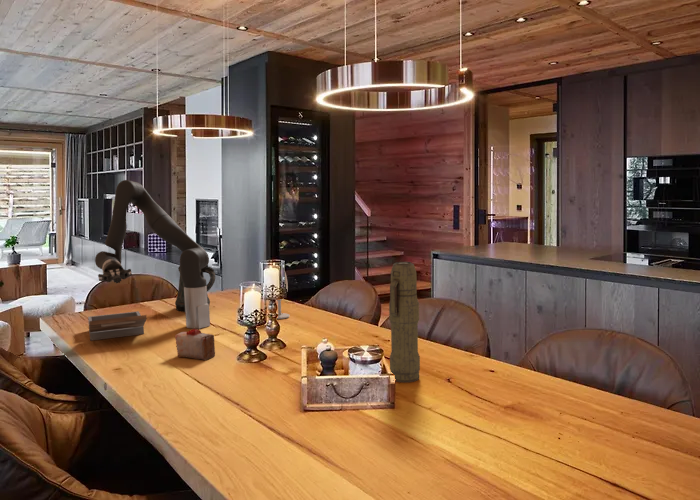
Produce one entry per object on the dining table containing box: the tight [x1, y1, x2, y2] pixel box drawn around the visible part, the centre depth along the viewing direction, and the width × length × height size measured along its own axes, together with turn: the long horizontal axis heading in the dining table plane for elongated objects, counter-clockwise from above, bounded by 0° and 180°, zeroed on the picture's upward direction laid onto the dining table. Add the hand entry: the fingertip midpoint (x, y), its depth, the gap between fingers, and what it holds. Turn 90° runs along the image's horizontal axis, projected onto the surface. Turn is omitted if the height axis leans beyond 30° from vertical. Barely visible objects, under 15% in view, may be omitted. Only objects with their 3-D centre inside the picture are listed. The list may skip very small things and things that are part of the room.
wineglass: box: [276, 272, 291, 320], centre depth 259 cm, size 9×9×21 cm
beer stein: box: [174, 264, 216, 313], centre depth 283 cm, size 16×19×25 cm
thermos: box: [388, 261, 421, 383], centre depth 173 cm, size 9×12×35 cm
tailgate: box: [88, 314, 147, 333], centre depth 225 cm, size 2×20×16 cm
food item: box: [174, 328, 216, 361], centre depth 203 cm, size 14×8×10 cm, turn 64°
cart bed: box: [87, 310, 145, 341], centre depth 240 cm, size 18×20×6 cm
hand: (117, 280), depth 223 cm, fingers closed
